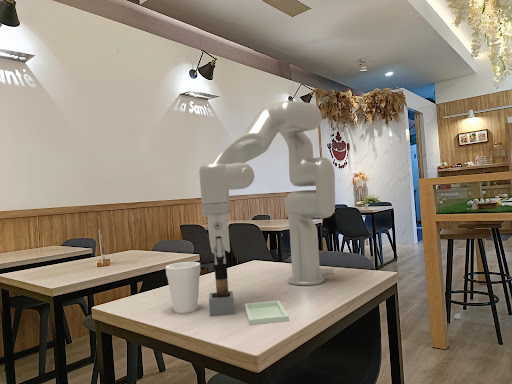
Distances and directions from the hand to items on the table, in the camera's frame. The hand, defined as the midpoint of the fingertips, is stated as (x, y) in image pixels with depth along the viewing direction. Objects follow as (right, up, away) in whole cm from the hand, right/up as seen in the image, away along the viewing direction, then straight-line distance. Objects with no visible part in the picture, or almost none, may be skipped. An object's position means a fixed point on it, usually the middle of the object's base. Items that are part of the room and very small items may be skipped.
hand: (221, 276), depth 104 cm
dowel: (0, -5, 0) cm, 5 cm away
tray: (+12, -9, -5) cm, 16 cm away
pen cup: (0, -10, 0) cm, 10 cm away
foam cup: (-10, -11, +3) cm, 15 cm away
